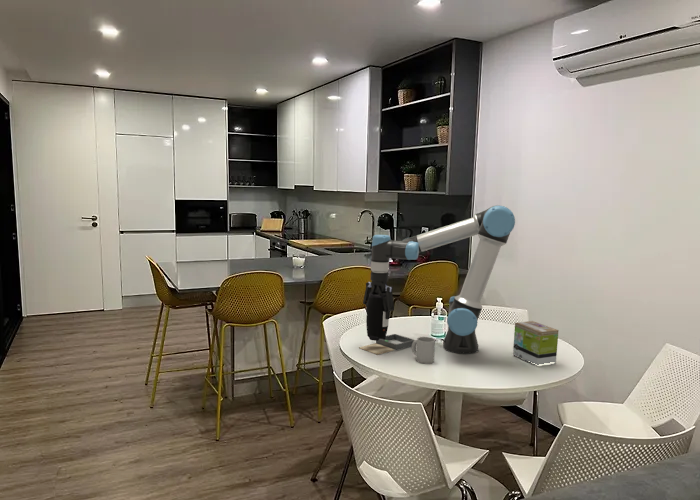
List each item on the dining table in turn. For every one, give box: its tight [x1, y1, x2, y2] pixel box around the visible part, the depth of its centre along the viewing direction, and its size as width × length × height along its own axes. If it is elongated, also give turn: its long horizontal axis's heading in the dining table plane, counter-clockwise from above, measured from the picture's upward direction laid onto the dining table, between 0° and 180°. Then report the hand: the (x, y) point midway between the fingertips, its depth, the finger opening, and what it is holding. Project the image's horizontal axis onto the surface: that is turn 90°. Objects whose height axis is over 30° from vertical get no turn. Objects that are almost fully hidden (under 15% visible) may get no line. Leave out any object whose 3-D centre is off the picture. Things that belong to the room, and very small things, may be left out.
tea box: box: [512, 320, 559, 365], centre depth 212 cm, size 15×10×15 cm
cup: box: [411, 336, 436, 365], centre depth 208 cm, size 7×10×9 cm
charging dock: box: [375, 333, 415, 351], centre depth 228 cm, size 12×12×3 cm
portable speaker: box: [365, 293, 389, 342], centre depth 219 cm, size 9×9×20 cm
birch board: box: [358, 342, 395, 356], centre depth 220 cm, size 11×10×1 cm
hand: (377, 323), depth 219 cm, fingers closed on portable speaker, 9 cm apart
